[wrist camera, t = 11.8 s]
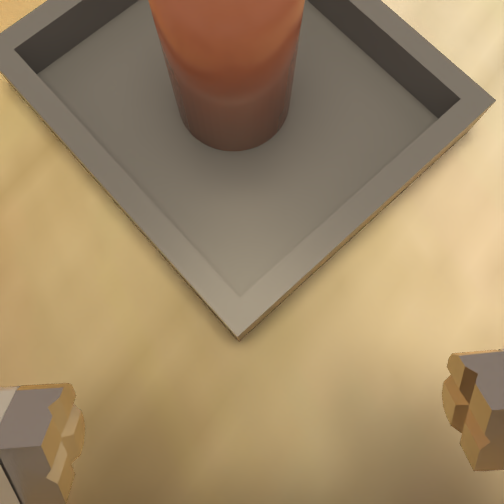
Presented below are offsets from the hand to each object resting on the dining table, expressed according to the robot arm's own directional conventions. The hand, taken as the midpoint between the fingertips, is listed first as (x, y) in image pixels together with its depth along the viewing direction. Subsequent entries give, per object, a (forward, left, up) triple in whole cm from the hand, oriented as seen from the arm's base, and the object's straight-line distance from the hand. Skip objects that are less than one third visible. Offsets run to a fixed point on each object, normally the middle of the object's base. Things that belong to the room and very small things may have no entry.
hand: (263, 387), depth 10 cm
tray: (-10, +8, -9) cm, 15 cm away
